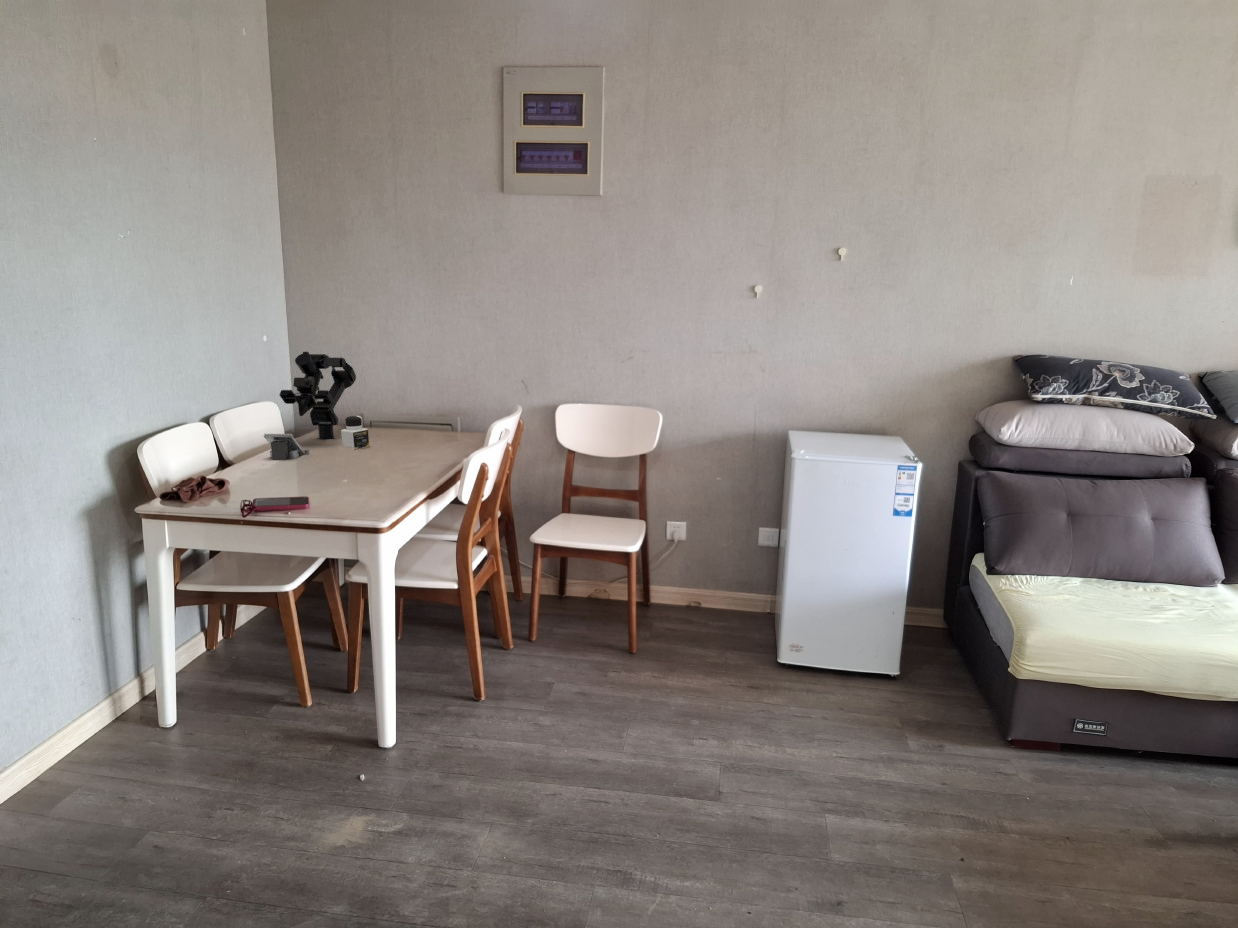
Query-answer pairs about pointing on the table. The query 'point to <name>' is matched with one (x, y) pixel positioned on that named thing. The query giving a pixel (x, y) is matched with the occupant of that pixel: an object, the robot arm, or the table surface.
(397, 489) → the table surface
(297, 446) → the gray rectangular panel
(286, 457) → the heat sink
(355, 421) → the medicine bottle
